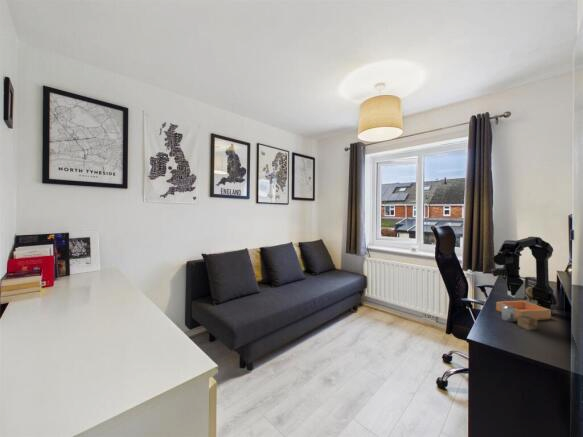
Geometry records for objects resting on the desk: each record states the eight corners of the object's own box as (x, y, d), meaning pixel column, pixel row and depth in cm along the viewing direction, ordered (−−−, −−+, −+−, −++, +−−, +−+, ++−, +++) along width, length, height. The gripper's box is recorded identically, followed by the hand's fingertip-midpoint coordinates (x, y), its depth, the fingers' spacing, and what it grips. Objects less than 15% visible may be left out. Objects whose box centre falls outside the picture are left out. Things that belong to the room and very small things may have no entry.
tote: (522, 308, 145) (523, 300, 145) (550, 319, 131) (550, 309, 131) (496, 310, 142) (496, 301, 142) (521, 320, 128) (522, 311, 128)
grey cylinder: (507, 317, 132) (507, 304, 132) (517, 321, 128) (517, 308, 127) (499, 318, 132) (499, 305, 132) (508, 322, 127) (509, 308, 127)
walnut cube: (525, 324, 124) (526, 315, 124) (537, 329, 119) (537, 319, 119) (517, 325, 124) (517, 315, 123) (528, 330, 119) (528, 319, 118)
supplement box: (527, 299, 162) (527, 280, 161) (514, 298, 163) (514, 279, 163) (519, 295, 169) (519, 277, 169) (507, 294, 170) (507, 276, 170)
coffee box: (523, 301, 157) (524, 276, 157) (532, 301, 158) (533, 276, 157) (539, 306, 148) (539, 280, 148) (548, 306, 149) (549, 280, 148)
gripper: (490, 259, 142) (489, 286, 142) (494, 265, 126) (493, 295, 127) (516, 262, 136) (515, 289, 136) (524, 268, 120) (523, 299, 120)
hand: (511, 293), depth 130 cm, fingers open, 9 cm apart
